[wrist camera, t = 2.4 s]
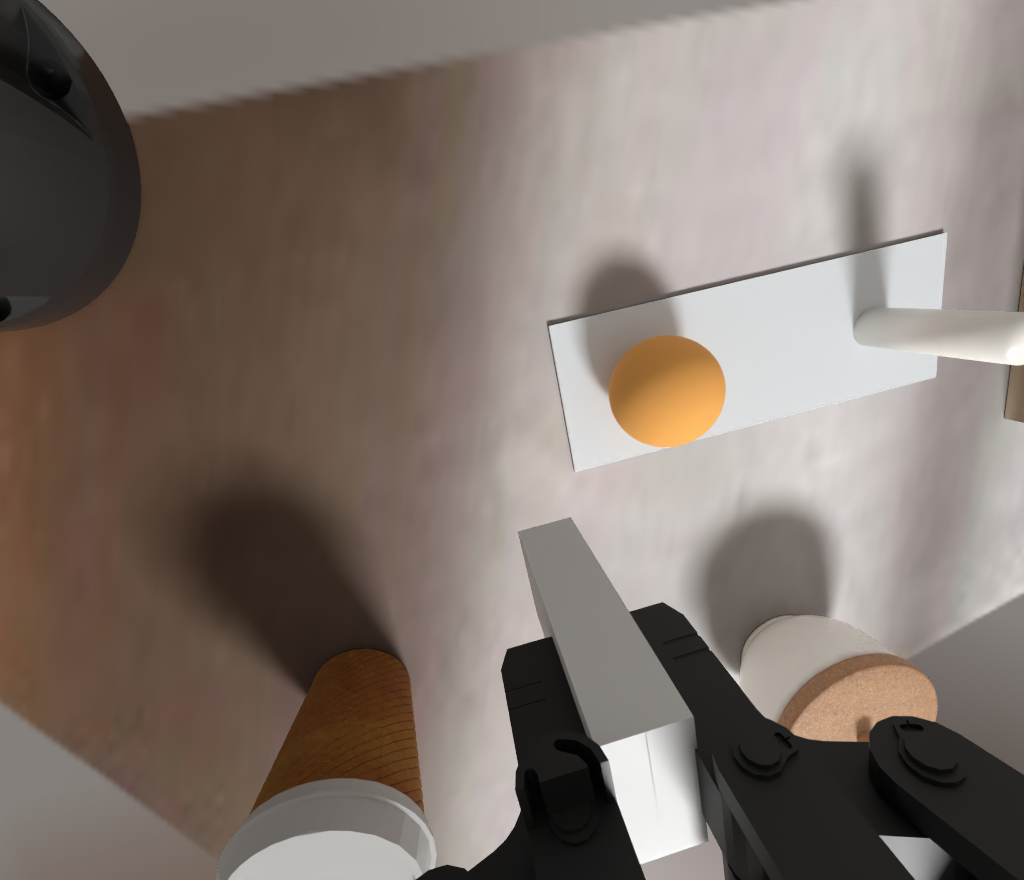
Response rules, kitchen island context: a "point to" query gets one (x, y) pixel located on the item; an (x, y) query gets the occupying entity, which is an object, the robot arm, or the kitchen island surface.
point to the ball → (667, 391)
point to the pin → (945, 333)
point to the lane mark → (756, 343)
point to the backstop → (1016, 382)
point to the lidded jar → (829, 679)
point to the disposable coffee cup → (341, 785)
